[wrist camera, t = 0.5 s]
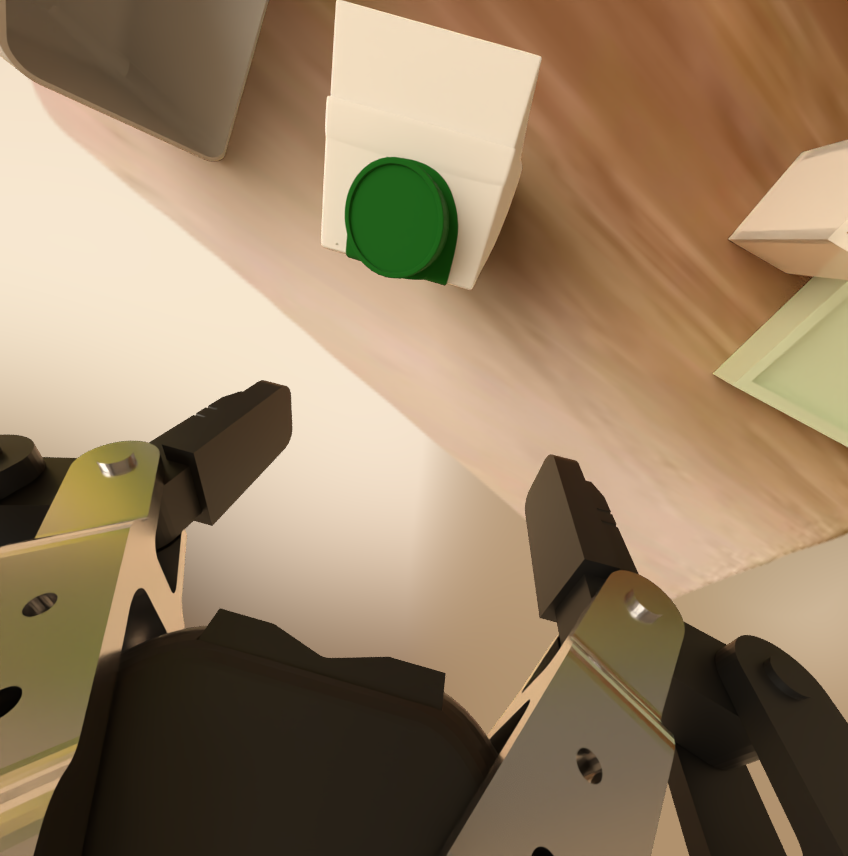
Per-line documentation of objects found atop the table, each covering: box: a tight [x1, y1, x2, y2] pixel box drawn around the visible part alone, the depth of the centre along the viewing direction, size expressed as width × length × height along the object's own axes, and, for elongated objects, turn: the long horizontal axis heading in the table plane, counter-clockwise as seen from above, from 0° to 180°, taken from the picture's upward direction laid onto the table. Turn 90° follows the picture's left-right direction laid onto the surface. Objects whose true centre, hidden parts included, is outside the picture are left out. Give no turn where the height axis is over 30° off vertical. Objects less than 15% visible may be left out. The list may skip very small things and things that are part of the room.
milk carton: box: [321, 0, 541, 290], centre depth 20 cm, size 9×9×20 cm
